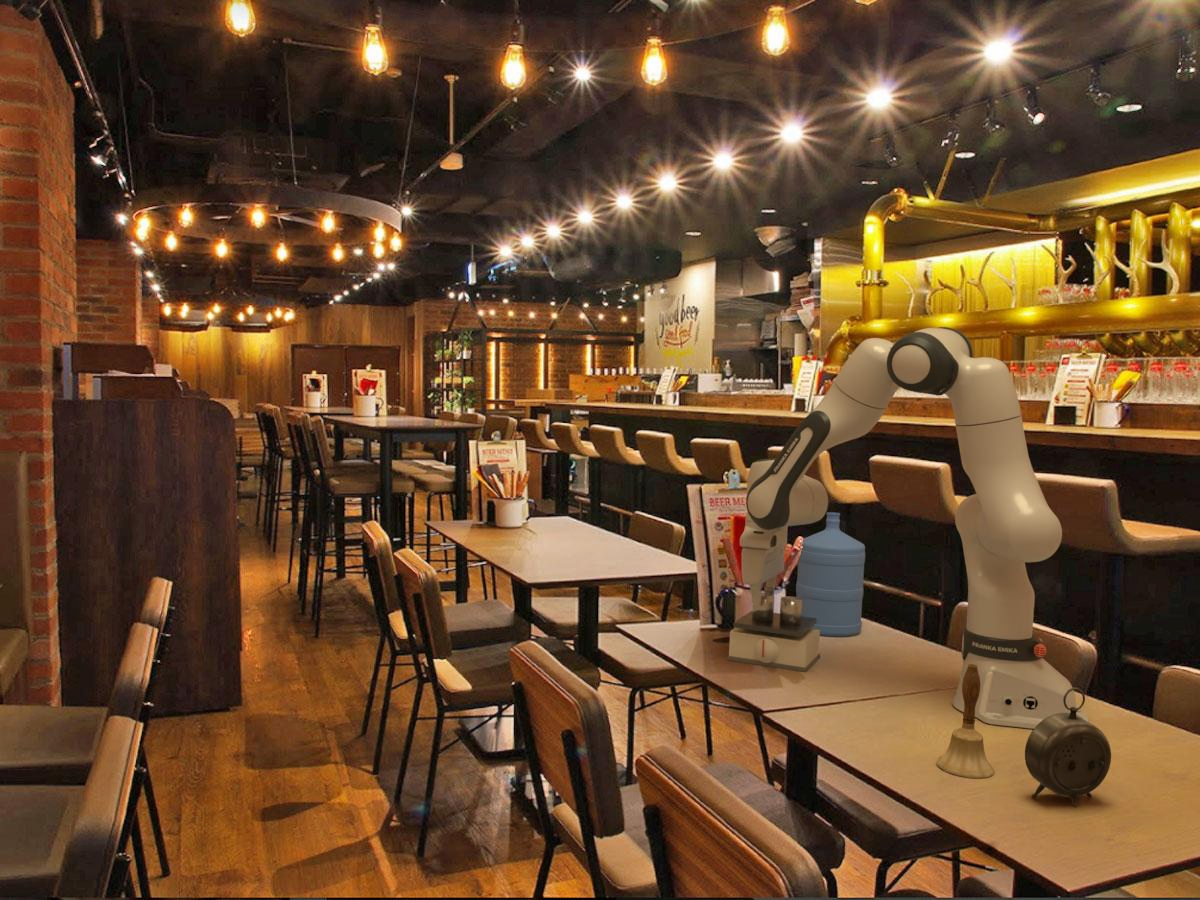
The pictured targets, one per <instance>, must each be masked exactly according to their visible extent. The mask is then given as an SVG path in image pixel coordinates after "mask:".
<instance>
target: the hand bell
mask: <svg viewBox="0 0 1200 900" xmlns="http://www.w3.org/2000/svg"><path fill="white" fill-rule="evenodd" d="M980 685H981V683H980V677H979V673H978V669H977V665H974V664H969V665H968V668H967V671H966V673H965V675H964V677H963V682H962V694H963V699H964V712H963V714H962V715H963V718H962V726H961V727H959V728H955V729H954V730H953V731H952V732H951V737H950V741H949V745H948V747H947V749H946V751H945V752H944V753H943V754H942V755H940V756H939V757H938V758H937V760H936V765H937V767H938V768H939V769H941V770H942V771H943V772H946V773H948V774H951V775H954V776H958V777H962V778H969V779H987V777H988V778H990V776H991V777H993V776H994V775H995V769H994V767H993V765H992V764H991V763H990V761H989V760H988V759H987V755H986V752H985V748H984V746H985V745H984V736H983V734H982V733H981V732H979V731H977V730H976V729H975V722H976V720H975V719H976V717H975V706H976V703H977V700H978V698H979V694H980ZM992 775H993V776H992Z"/></svg>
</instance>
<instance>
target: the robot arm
mask: <svg viewBox="0 0 1200 900" xmlns="http://www.w3.org/2000/svg"><path fill="white" fill-rule="evenodd" d="M973 356H974V352H973V347H972V343H971V341H970V340H969V338H968V337H967V335H965V334H964V333H962V332H961V331H959V330H957V329H955V328H952V327H946V326H939V327H926V328H922V329H918V330H915V331H914V332H909V333H907V334H904V335H903V336H902V337H900V338H899V339H898V340H896V342H894V343H893V342H891V341H890V340H887V339H885V338H879V337H871V338H867V339H865V340H863V341H862V342H860V343H859V345H858V346H857V347H856V348H855V350H853V352H852V353H851V354H850V355H849V357H848V358H847V360H846V361H845V362H844V364H843V365H842V367H841V369H840V370H839V371H838V374H837V375H836V377H835V379H834V380H833V382H832V384H831V386H830V387H829V389H828V390H827V392H826V393H825V395H824V396H823V397H822V399H821V400H820V401H819V403H818V404H817V405H816V406H815V408H814V409H812V411H811V412H810V413H808V415H807V416H806V417H804V418H803V420H802V421H801V422H800V423H799V425H798V426H797V427H796V429H794V431H793V433H792V434H791V436H790V437H789V438H788V440H787V442H786V443H785V444H784V446H783V447H782V449H781V450H780V451H779V453H778V455H777V456H776V457H775V458H774V457H773V458H763V459H758V460H755V461H754V462H752V464H751V465H750V468H749V471H748V475H747V483H746V495H745V496H746V497H745V498H746V501H745V502H746V503H745V504H746V510H747V511H746V515H745V523H744V524H745V525H744V529H743V532H742V534H741V535H740V538H739V546H740V547H742V549H741V578H742V579H741V580H742V582H743V584H744V585H749V589H750V593H751V603H752V605H753V604H760V603H761V602H762V595H761V593H762V588H763V584H765V587H764V592H763V593H767V594H772V595H774V596H775V587H776V585H777V579H778V575H780V574H782V573H783V572H784V569H785V561H786V560H785V557H786V556H785V555H786V553H785V551H786V550H785V547H786V545H787V544H788V527H793V526H794V527H796V526H800V525H809V524H814V523H817V522H819V521H821V520H822V519H823V518H824V517H825V516H826V515H827V512H828V509H829V504H830V503H829V502H830V499H829V497H830V496H829V494H828V491H827V488H826V486H825V485H824V484H823V482H822V481H820V480H819V479H816V478H813V477H810V476H808V475H806V473H807V471H808V470H809V468H810V467H811V465H812V464H813V462H814V461H815V460H816V459H817V458H818V457H819V456H820V455H822V453H823V452H825V451H827V450H829V449H831V448H833V447H835V446H837V445H840V444H843V443H845V442H849V441H852V440H855V439H858V438H861V437H863V436H865V435H866V434H868V433H869V432H870V431H871V430H872V429H873V428H874V427H875V425H876V424H877V423H878V422H879V421H880V420H881V418H882V416H883V415H884V414H885V412H886V410H887V408H888V406H889V404H890V403H891V401H892V398H893V397H894V396H895V395H896V394H895V393H896V392H897V391H898V390H899V389H900V388H902V389H904V390H905V391H909V392H913V393H919V394H924V395H925V394H926V395H933V396H939V397H940V396H943V395H946V396H947V398H948V399H949V401H950V403H951V407H952V412H953V417H954V423H955V430H956V436H957V441H958V448H959V455H960V461H961V465H962V468H963V470H964V472H965V474H966V475H967V476H968V478H969V479H970V482H971V483H972V487H973V489H974V490H975V493H974V494H972V495H969V496H967V497H966V498H964V499H963V500H962V501H961V502H960V503H959V504H958V506H957V508H956V512H955V514H954V522H955V526H956V527H955V528H956V530H957V532H958V533H959V535H960V538H961V542H962V543H961V544H962V548H963V556H964V563H965V568H966V576H967V577H966V578H967V589H968V590H967V591H968V592H967V593H968V594H967V609H966V611H967V613H966V615H967V616H966V627H965V628H964V630H963V634H962V643H961V655H962V660H963V661H962V666H961V667H962V668H961V673H960V677H959V681H958V684H957V688H956V691H955V694H954V697H953V700H952V702H951V704H952V706H953V707H954V708H955V709H957V710H958V711H960V712H962V713H964V699H963V694H962V682H963V677H964V675H965V673H966V671H967V668H968V665H969V664H974V665H977V669H978V673H979V677H980V683H981V685H980V694H979V698H978V700H977V703H976V706H975V718H977V719H979V720H980V721H981V722H983V723H986V724H989V725H997V726H1004V727H1005V726H1006V727H1015V728H1024V729H1030V730H1033V729H1034V728H1035V727H1036V726H1037V725H1038V724H1039V723H1040V722H1041V721H1042V720H1044V719H1045V718H1047V717H1049V716H1051V715H1054V714H1058V713H1070V712H1071V711H1070V710H1068V709H1067V708H1066V707H1065V706H1064V701H1063V699H1064V695H1065V693H1066V692H1067V691H1068V690H1069V689H1071V688H1073V686H1072V683H1071V682H1070V681H1069V679H1067V677H1065V676H1064V675H1062V674H1061V672H1059V671H1058V670H1056V668H1054V667H1053V666H1052V665H1051V664H1050V663H1049V662H1047V661H1046V660H1045V659H1044V657H1045V656H1046V653H1047V647H1046V646H1045V643H1044V642H1043V639H1042V638H1038V637H1037V636H1035V635H1033V629H1034V625H1033V624H1034V611H1035V600H1036V599H1035V597H1036V596H1035V590H1034V588H1033V586H1032V584H1031V582H1030V579H1029V576H1028V571H1027V567H1026V563H1037V562H1042V561H1045V560H1047V559H1049V558H1050V557H1052V556H1053V555H1054V554H1055V553H1056V552H1057V551H1058V549H1059V547H1060V545H1061V542H1062V538H1063V529H1062V525H1061V522H1060V520H1059V518H1058V516H1056V514H1055V513H1054V512H1053V510H1052V509H1051V508H1050V507H1049V505H1048V503H1047V502H1048V501H1046V498H1045V496H1044V493H1043V491H1042V488H1041V486H1040V484H1039V481H1038V479H1037V476H1036V474H1035V471H1034V469H1033V465H1032V463H1031V459H1030V457H1029V451H1028V446H1027V445H1028V444H1027V440H1026V436H1025V434H1026V433H1025V430H1024V429H1025V428H1024V423H1023V417H1022V411H1021V406H1020V400H1019V398H1018V394H1017V390H1016V386H1015V384H1014V380H1013V378H1012V375H1011V373H1010V370H1009V368H1008V366H1007V365H1006V364H1005V363H1004V362H1003V361H1001V360H1000V359H997V358H995V357H988V356H983V357H982V356H981V357H973ZM1066 705H1067V707H1068V708H1071V707H1076V708H1078V707H1079V706H1077V701H1076V695H1075V690H1072V691H1071V692H1069V693H1068V695H1067V697H1066ZM1076 715H1078V716H1080V717H1081V718H1083V719H1084V720H1086V721H1087V722H1089V723H1090V721H1089V720H1090V719H1089V715H1088V714H1087V712H1086V711H1085V710H1083V709H1082V708H1080V709H1079V710H1078V711H1077V712H1076Z"/></svg>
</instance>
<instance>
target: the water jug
mask: <svg viewBox="0 0 1200 900" xmlns="http://www.w3.org/2000/svg"><path fill="white" fill-rule="evenodd" d="M840 516H841V513H840V512H833V511H827V512H826V520H825V523H826V524H825V525H826V526H825V529H824V530H822V531H819V532H816V533H813V534H812V535H809V536H807V537H804V538H802V539H803V548H802V551H801V555H800V557H799V559H798V558H797V574H796V575H797V578H796V583H795V592H796V596H795V597H798V598H801V599H802V613H801V616H803V617H810V618H817V623H816V624H815V625H814V626H812V627H811V628H810V629H817V630H820V636H822V637H833V638H834V637H835V638H836V637H837V638H838V637H839V638H840V637H841V638H842V637H843V638H844V637H850V636H851V637H852V636H856V635H857V634H859V633H860V632H861V631H862V627H863V623H862V610H863V609H862V608H863V598H864V575H865V574H864V573H865V564H866V563H865V561H866V546H865V544H864V543H862V542H861V541H859V540H857V539H856V538H853V537H852V536H850V535H848V534H846V533H845V532H843V531H841V529H840V523H841V520H840Z"/></svg>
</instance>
